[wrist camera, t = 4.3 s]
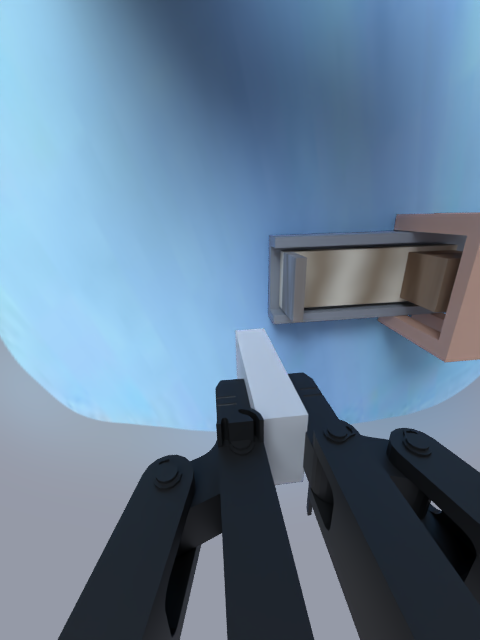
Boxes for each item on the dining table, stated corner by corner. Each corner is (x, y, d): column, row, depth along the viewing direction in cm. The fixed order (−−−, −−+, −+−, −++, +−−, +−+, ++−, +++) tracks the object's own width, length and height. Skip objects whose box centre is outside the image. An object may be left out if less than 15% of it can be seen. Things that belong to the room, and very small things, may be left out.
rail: (268, 315, 31) (273, 324, 29) (269, 235, 28) (275, 237, 26) (490, 300, 34) (513, 307, 32) (515, 226, 31) (543, 227, 28)
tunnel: (377, 320, 33) (445, 362, 24) (396, 214, 29) (488, 213, 19) (422, 317, 34) (505, 357, 25) (447, 212, 29) (560, 211, 20)
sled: (279, 305, 30) (296, 326, 24) (280, 250, 28) (299, 259, 22) (435, 295, 32) (485, 313, 26) (448, 243, 30) (506, 250, 24)
